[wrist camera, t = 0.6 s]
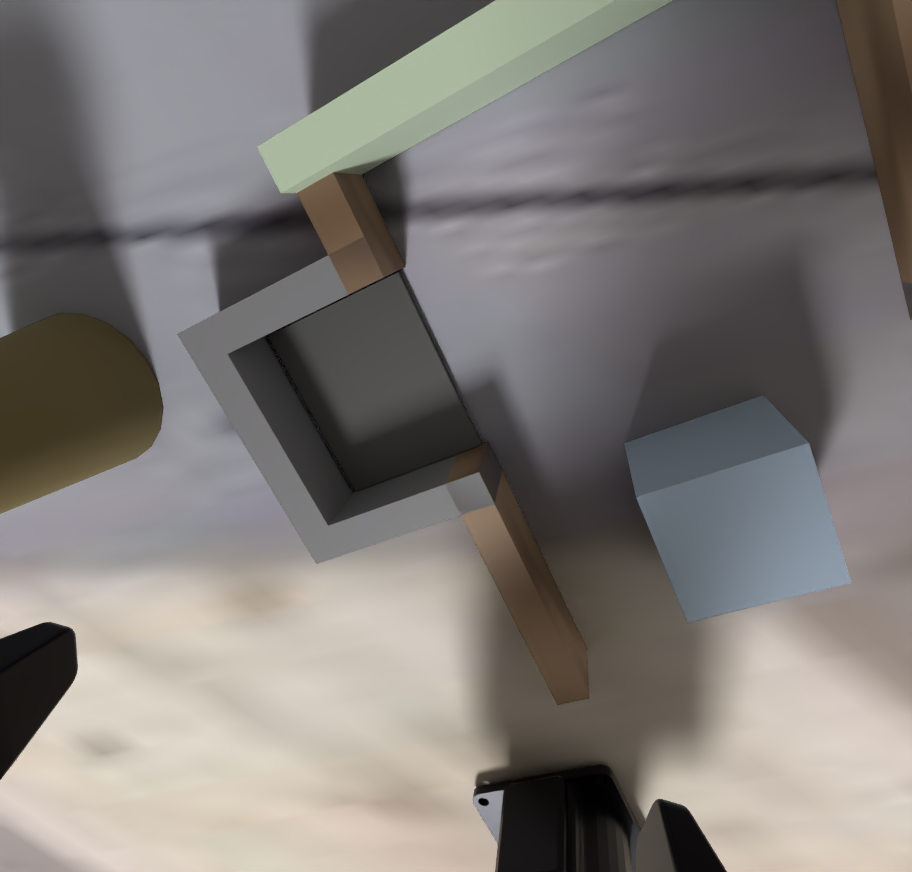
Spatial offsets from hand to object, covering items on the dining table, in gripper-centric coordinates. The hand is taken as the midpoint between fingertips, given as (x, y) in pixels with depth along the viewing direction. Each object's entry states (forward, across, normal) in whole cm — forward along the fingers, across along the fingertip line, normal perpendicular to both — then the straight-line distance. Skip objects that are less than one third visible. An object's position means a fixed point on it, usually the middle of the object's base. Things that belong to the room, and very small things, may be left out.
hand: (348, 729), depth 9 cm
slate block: (+13, -8, 0) cm, 16 cm away
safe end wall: (+13, 0, -12) cm, 17 cm away
